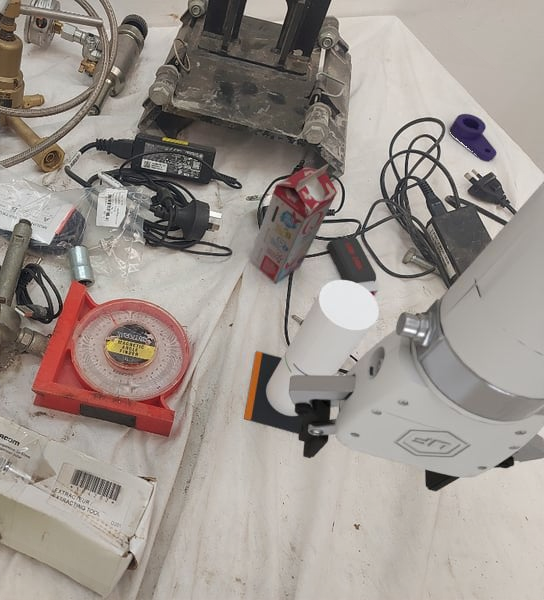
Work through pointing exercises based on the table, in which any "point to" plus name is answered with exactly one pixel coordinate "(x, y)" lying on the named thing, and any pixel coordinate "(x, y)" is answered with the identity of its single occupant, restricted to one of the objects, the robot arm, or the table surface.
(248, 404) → the mat
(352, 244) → the usb drive
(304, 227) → the juice carton
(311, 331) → the cylindrical container
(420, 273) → the table surface
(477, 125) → the lever
